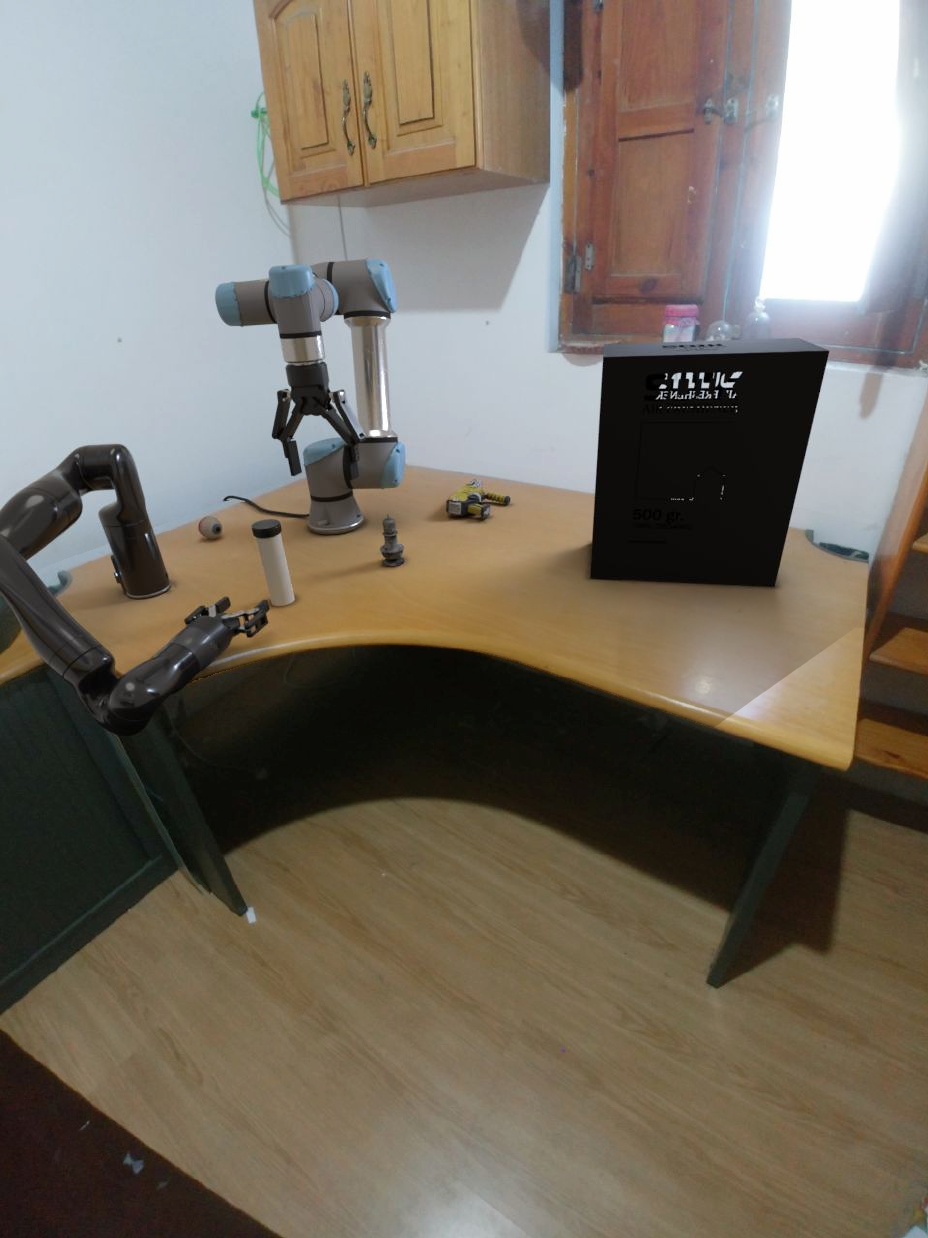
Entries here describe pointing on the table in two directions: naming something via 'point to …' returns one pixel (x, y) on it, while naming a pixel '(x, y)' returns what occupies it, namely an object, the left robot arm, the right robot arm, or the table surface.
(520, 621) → the table surface
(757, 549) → the cardboard box
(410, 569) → the table surface
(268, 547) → the jar
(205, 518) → the eyeball
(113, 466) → the left robot arm
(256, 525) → the lid
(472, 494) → the toy gun
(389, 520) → the grey stepped tapered figure
